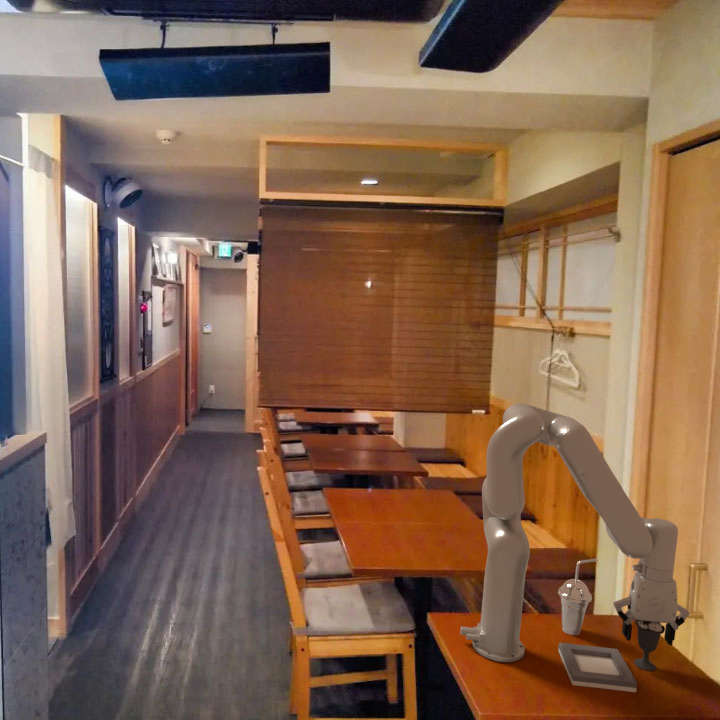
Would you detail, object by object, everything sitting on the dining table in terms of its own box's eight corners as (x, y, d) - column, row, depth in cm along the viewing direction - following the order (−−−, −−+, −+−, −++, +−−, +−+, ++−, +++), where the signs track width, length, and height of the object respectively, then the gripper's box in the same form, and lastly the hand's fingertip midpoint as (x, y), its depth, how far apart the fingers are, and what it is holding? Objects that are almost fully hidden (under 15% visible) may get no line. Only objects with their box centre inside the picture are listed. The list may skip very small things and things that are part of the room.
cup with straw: (555, 619, 173) (562, 548, 171) (590, 627, 169) (598, 555, 167) (553, 634, 165) (560, 560, 163) (589, 643, 161) (598, 567, 159)
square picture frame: (572, 684, 143) (573, 675, 142) (558, 651, 157) (559, 642, 156) (636, 692, 142) (637, 683, 141) (616, 657, 155) (617, 649, 155)
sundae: (663, 675, 149) (671, 614, 148) (633, 670, 150) (640, 609, 149) (656, 660, 155) (663, 601, 154) (627, 655, 157) (634, 597, 155)
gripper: (623, 574, 148) (615, 644, 149) (700, 582, 146) (691, 652, 148) (613, 561, 155) (605, 628, 157) (686, 569, 154) (678, 636, 155)
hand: (647, 640), depth 152 cm, fingers open, 9 cm apart
